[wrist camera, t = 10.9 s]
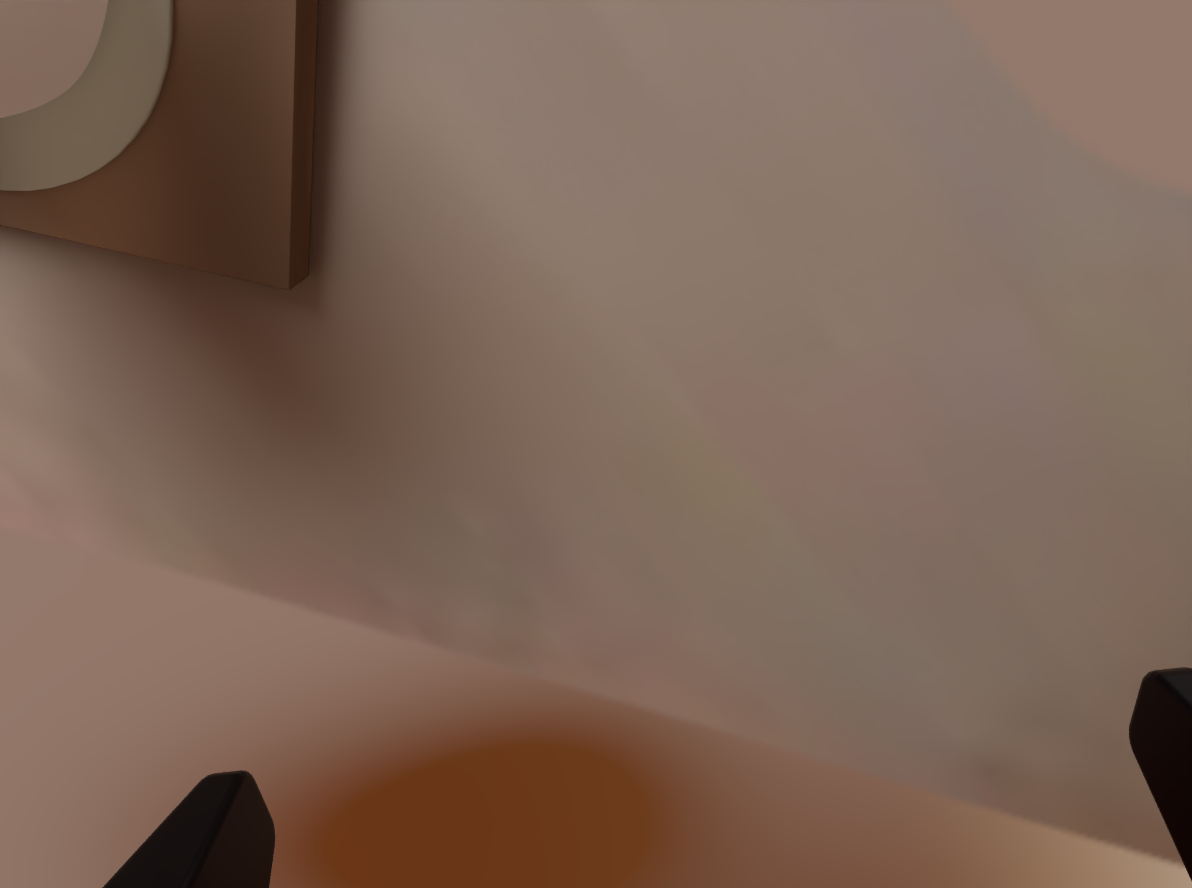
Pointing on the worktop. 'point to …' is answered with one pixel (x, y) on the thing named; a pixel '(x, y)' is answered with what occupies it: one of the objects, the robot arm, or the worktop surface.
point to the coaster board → (179, 140)
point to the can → (45, 48)
